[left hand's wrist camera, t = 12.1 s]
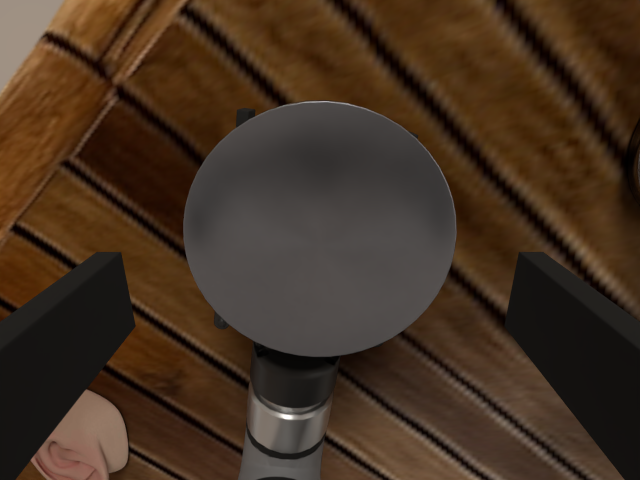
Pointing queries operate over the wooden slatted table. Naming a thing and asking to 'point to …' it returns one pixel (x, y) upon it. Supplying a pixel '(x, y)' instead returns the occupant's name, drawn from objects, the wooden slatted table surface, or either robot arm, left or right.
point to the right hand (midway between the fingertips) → (328, 121)
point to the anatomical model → (85, 442)
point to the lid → (319, 228)
